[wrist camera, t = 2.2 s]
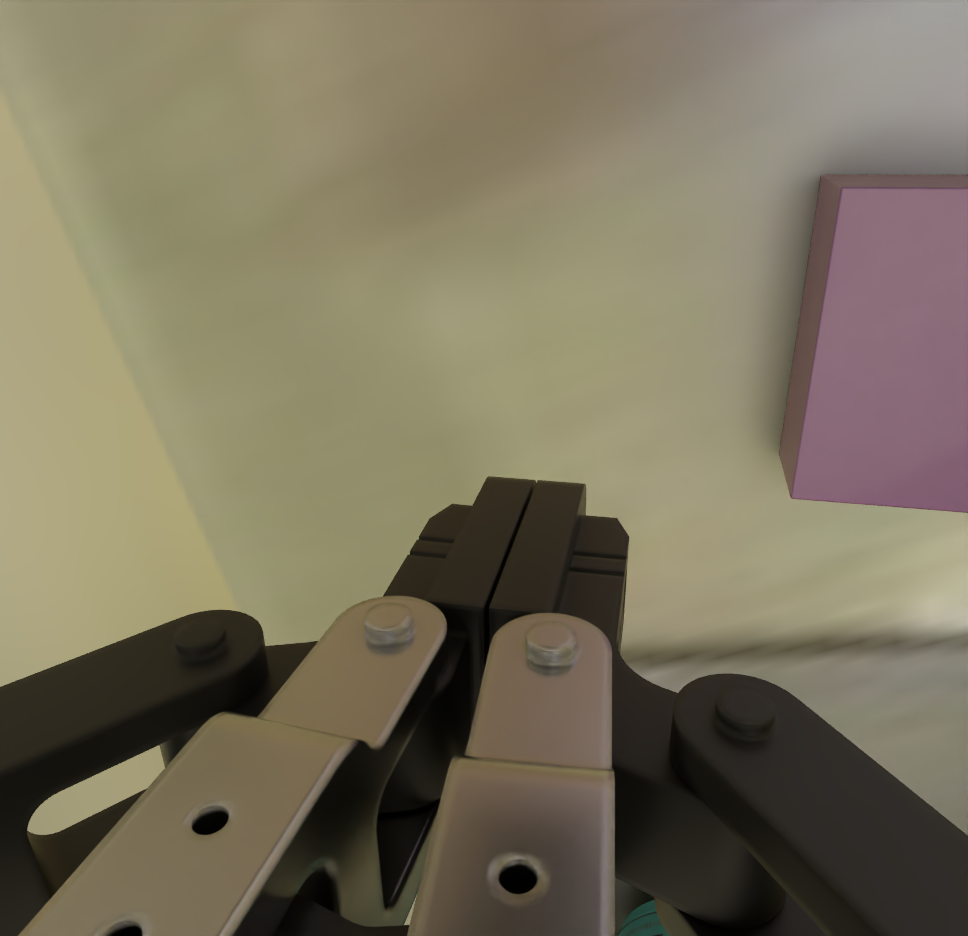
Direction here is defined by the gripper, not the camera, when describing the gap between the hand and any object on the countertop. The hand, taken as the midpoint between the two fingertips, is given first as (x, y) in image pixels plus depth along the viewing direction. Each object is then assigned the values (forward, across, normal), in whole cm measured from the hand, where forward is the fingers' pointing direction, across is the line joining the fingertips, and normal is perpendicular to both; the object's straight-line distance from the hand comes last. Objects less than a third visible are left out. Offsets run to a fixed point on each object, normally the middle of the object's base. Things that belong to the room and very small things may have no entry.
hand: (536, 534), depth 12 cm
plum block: (+13, -8, 0) cm, 15 cm away
